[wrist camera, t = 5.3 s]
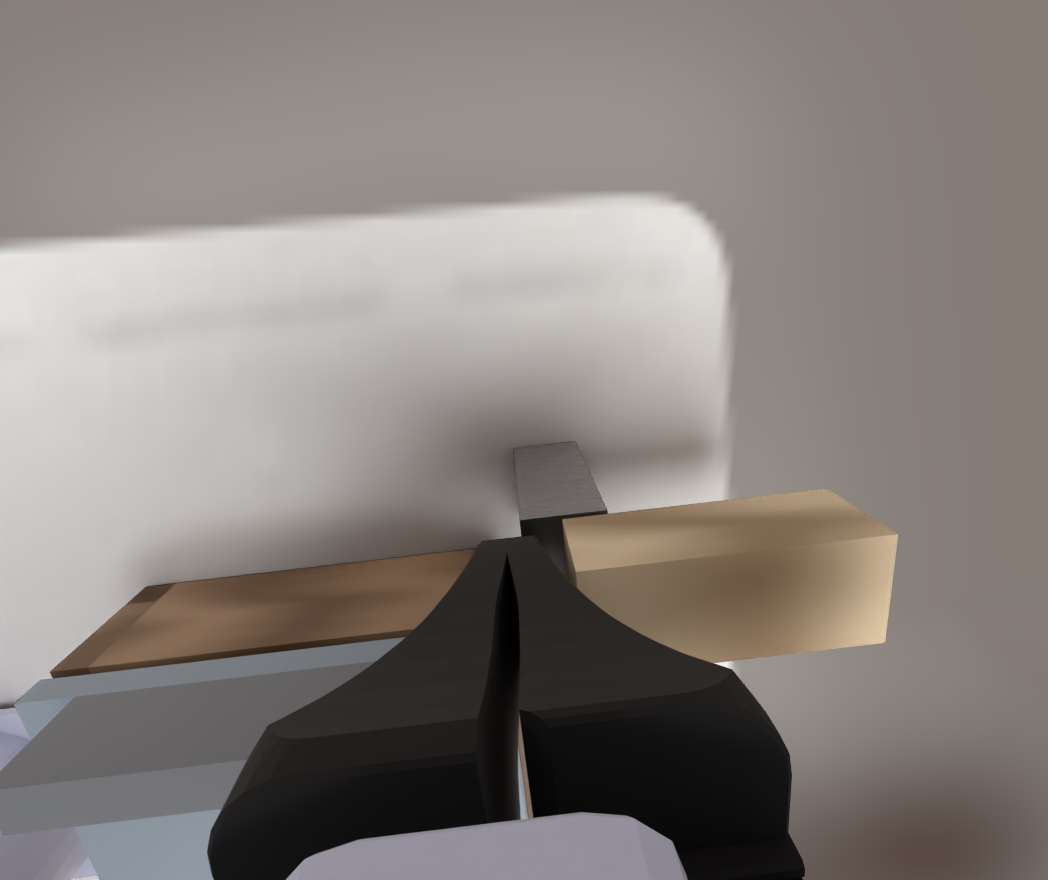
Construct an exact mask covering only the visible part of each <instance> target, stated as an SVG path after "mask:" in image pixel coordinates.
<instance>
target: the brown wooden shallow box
mask: <svg viewBox="0 0 1048 880" xmlns="http://www.w3.org/2000/svg"><path fill="white" fill-rule="evenodd" d="M475 550H476V549H468V550H459V551H451V552H442V553H434V554H425V555H416V556H408V557H399V558H390V559H382V560H373V561H364V562H356V563H347V564H339V565H330V566H321V567H313V568H304V569H295V570H287V571H278V572H270V573H261V574H252V575H244V576H235V577H226V578H218V579H209V580H200V581H192V582H183V583H175V584H166V585H157V586H149V587H145V588H144V589H143V590H142V591H141V592H140V593H139V594H137V595H136V596H135V597H134V598H133V599H132V600H131V601H130V602H128V603H127V604H126V605H125V606H124V607H123V608H122V609H120V610H119V611H118V612H117V613H116V614H115V615H114V616H113V617H111V618H110V619H109V620H108V621H107V622H106V623H105V624H103V625H102V626H101V627H100V628H99V629H98V630H97V631H96V632H94V633H93V634H92V635H91V636H90V637H89V638H88V639H86V640H85V641H84V642H83V643H82V644H81V645H80V646H79V647H77V648H76V649H75V650H74V651H73V652H72V653H71V654H69V655H68V656H67V657H66V658H65V659H64V660H63V661H62V662H60V663H59V664H58V665H57V666H56V667H55V668H54V669H53V670H51V671H50V673H51V675H52V678H53V679H54V678H63V677H71V676H80V675H88V674H97V673H105V672H114V671H122V670H131V669H139V668H148V667H156V666H165V665H173V664H182V663H190V662H199V661H207V660H215V659H224V658H232V657H241V656H249V655H258V654H266V653H275V652H283V651H292V650H300V649H309V648H317V647H326V646H334V645H343V644H351V643H360V642H368V641H377V640H385V639H394V638H402V637H407V636H408V635H409V634H410V633H411V632H412V631H413V630H414V629H415V628H416V627H417V626H418V625H419V624H420V623H421V622H422V621H423V620H424V619H425V618H426V617H427V616H428V615H429V614H430V613H431V611H432V610H433V609H434V608H435V607H436V605H437V604H438V603H439V602H440V600H441V599H442V598H443V597H444V596H445V594H446V593H447V592H448V591H449V589H450V588H451V587H452V585H453V584H454V582H455V581H456V579H457V578H458V577H459V575H460V574H461V572H462V571H463V569H464V568H465V566H466V565H467V563H468V562H469V560H470V558H471V557H472V555H473V553H474V552H475ZM518 748H519V755H520V762H521V769H522V777H523V784H524V791H525V798H526V806H527V813H528V819H529V818H533V813H532V805H531V798H530V790H529V783H528V775H527V768H526V760H525V753H524V745H523V738H522V730H521V723H520V715H519V732H518Z"/></svg>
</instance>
